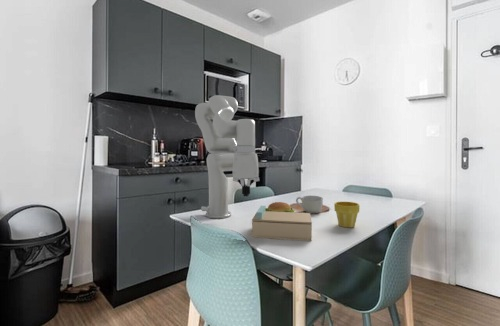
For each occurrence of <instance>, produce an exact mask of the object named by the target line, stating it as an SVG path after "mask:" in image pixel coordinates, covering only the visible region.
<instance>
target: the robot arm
mask: <svg viewBox="0 0 500 326" xmlns="http://www.w3.org/2000/svg"><path fill="white" fill-rule="evenodd" d="M238 106H239V103H238V100H237V99H236V98H235V97H233V96H228V95H218V94H215V95H212V96H210V98H209V100H208V102H200V103H198V104H197V105H196V106H195V110H194V116H195V120H196V121H195V122H196V124H197V125H198V127H199V129H200V131H201V135H202V137H203V141H204V146H205V148H206V151H207V152H208V153H209V154H208V155H207V157H206V166H207V174H208V175H207V176H208V205H207V206H201V207H200V210H201V211H202V212H205V217H207V218H208V219H209V218H210V219H226V218H229V217H231V216H232V212H231V211H229V180H228V178H227V176H226V174H225V173H224V172H232V181H233V182H237V183H239V185H240V186H241V194H242V195H243V197H249V196H250V195H251V185H252V184H254V183H256V182H260V177H259V176H260V169H259V157H258V154H257V153H256V121H255V120H254V119H251V118H240V119H237V120H232V119H234V115H235V113H236V112H237V111H238V108H239V107H238ZM246 180H247V181H246Z"/></svg>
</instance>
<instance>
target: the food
mask: <svg viewBox="0 0 500 326" xmlns="http://www.w3.org/2000/svg"><path fill="white" fill-rule="evenodd" d="M266 211H274V212H295V210H294V209H293V208H292V207H291V205H290V204H288V202H282V201H277V202H276V201H275V202H272V203H270V204H269V205H268V206H267V207H266Z"/></svg>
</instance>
